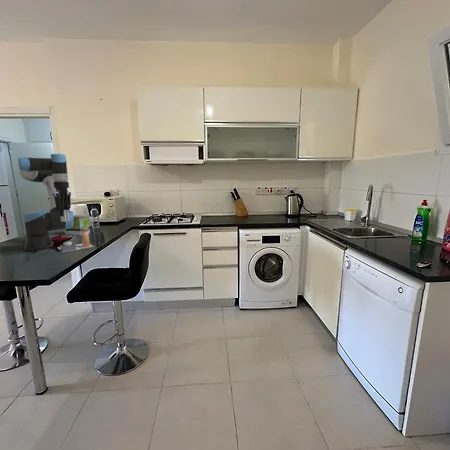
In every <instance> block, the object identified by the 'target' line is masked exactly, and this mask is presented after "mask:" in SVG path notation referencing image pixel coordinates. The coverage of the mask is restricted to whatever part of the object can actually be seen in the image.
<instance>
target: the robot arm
mask: <svg viewBox="0 0 450 450" xmlns="http://www.w3.org/2000/svg"><path fill="white" fill-rule="evenodd" d="M17 161H18V168H19V174H20V176H21V177H22V178H23V179H25V180H26V181H28V182H33V183H43V185H44V186H45V187H46V190H47V195H48V200H49V203H50V204H49V205H50V210H49V212H47V211H46V210H37V211H31V212H28V213H25V214H24V216H23V223H24V229H25V234H26V235H25V237H26V238H25V243H24V251H25V252H38V251H39V250H43V249H44V250H45V249H49V248H52V247H53V246H54V242H53V240H52V238H51V236H50V235H49V232H51V231H58V230H65V229H70V228H72V227H73V215H74V211H72V210H71V207H72V206H71V204H72V202H71V200H72V198H71V195H72V192H70V191H69V190H68V189H70V188H69V187H70V184H69V175H68V167H67V166H68V165H67V164H68V163H67V157H66V154H63V153H52V154H50V158H49V157H47V158H45V157H42V158H41V157H27V156H26V157H18V158H17Z"/></svg>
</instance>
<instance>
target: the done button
mask: <svg viewBox="0 0 450 450" xmlns="http://www.w3.org/2000/svg"><path fill="white" fill-rule="evenodd" d="M72 242H73V241H64V242H63V243H62V245H64V247H66V246H72Z"/></svg>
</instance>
